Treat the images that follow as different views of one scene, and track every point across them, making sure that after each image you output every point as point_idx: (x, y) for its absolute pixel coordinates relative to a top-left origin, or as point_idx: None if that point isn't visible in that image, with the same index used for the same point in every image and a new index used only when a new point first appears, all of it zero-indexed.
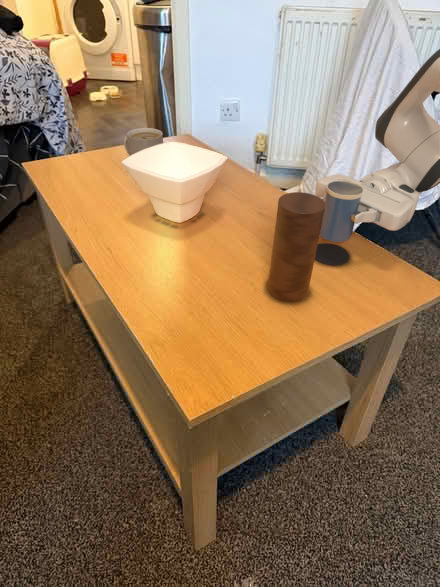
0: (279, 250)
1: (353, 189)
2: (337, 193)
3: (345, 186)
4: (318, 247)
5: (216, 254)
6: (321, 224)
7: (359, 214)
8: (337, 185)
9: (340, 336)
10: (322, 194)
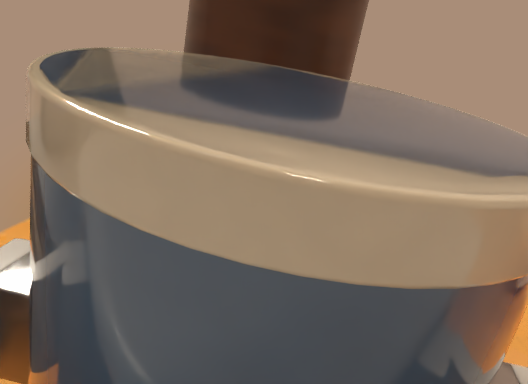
0: None
1: (189, 84)
2: (286, 68)
3: (332, 114)
4: None
5: (522, 354)
6: (188, 19)
7: (8, 252)
8: (420, 117)
9: (15, 236)
10: None
